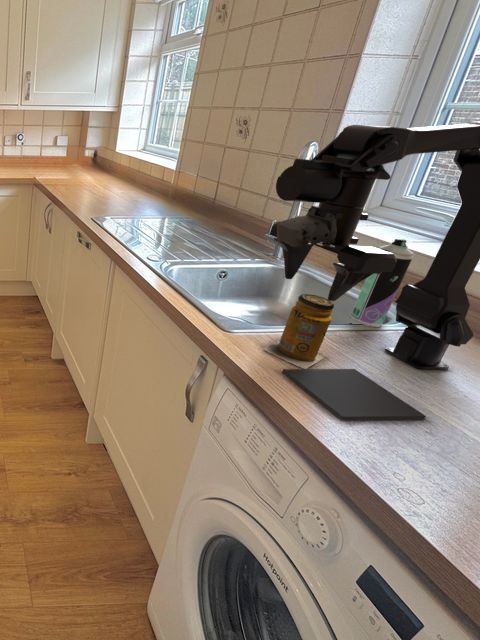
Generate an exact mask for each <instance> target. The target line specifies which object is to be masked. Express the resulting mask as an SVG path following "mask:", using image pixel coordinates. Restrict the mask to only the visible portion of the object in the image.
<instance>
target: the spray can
mask: <svg viewBox="0 0 480 640" xmlns="http://www.w3.org/2000/svg"><path fill="white" fill-rule="evenodd" d="M406 243H407V239H403V238H400V239H398V238H395V239H394V241H392V242H390V243H389V244H386V245H380V246H379V249H381V250H384V251H387V252H390V253H393V254H394V255H395V257H396V259H397V262H396V264H395V267H394V269H393V271H392V272H382V273H381V274H372V275H371V276H369V277H368V278H366V279H364V282H363V285H362V287H361V290H360V292H359V294H358V297H357V299H356V301H355V304H354V306H353V308H352V311H351V313H350V316H349V317H350V319H351V320H352V321H354V322H356V323H358V324H361V325H364V326H367V327H373V328H380V327H382V325H383V324H384V322H385V319H386V317H387V314H388V312H389V310H390V308H391V306H392V304H393V302H394V300H395V297H396V295H397V293H398V291H399V289H400V287H401V284H402V282H403V280H404V277H405V275H406V274H407V271H408V269H409V266H410V265H411V262H412V260H413V258H414V256H413V255H414V254H415V253H414V251H412V250H410V249H409V246H408V245H407V244H406Z"/></svg>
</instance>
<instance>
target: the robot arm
mask: <svg viewBox="0 0 480 640" xmlns="http://www.w3.org/2000/svg"><path fill="white" fill-rule="evenodd" d="M455 151H456V152H455ZM443 152H455V154H454V156H453V158H452V161H453V162H454V163H455V165H456V167H457V168H458V170H459V171H460V173H459V176H458V180H457V182H456V189H457V193H458V195H459V199H460V201H461V202H460V203H461V204H460V205H459V208H458V210H457V212H456V214H455V216H454V218H453V220H452V222H451V225H450V227H449V229H448V230H447V232H446V234H445V236H444V238H443V241H442V243H441V245H440V247H439V249H438V250H437V253H436V254H435V257H434V259H433V261H432V263H431V264H430V267H429V269H428V271H427V273H426V275H425V276H424V278H423V279H421V280H419V281H417V282H415V283H413V284H408V283H407V284H405V285H403V287H402V288H401V291H400V294H399V296H398V297H397V299H396V300H395V301H394V303H395V304H396V306H395V311H396V313H395V314H396V316H395V321H396V322H397V323H400V324H402V325H404V326H406V327H405V328H404V329H403V331H402V334H400V336H399V338H398V340H397V342H396V344H395V347H385V348H384V351H386V352H388V353H389V354H391V355H393V356H395V357H396V358H398V359H400V360H401V361H403V362H405V363H407V364H409V365H410V366H412V367H414V368H416V369H419V370H448V369H449V368H450V366H449V365H447V364H446V363H444V362H443V361H442V359H443V358H444V356H445V354H446V352H447V350H448V348H449V346H454V347H461V345H466V344H467V343H469V342H470V340H472V338H473V337H474V335H475V334H474V332H473V331H472V329H471V327H470V324H469V323H468V321H467V320H466V318H467V315H468V312H469V309H470V305H471V304H470V301H469V297H468V294H467V291H466V286H467V284H468V282H469V280H470V278H471V277H472V275H473V273H474V271H475V269H476V267H477V265H478V263H479V262H480V121H469V122H465V123H459V124H458V123H457V124H445V125H431V126H420V127H409V128H408V127H407V128H404V127H397V126H396V127H395V126H383V125H382V126H381V125H367V124H351V125H348V126H345V127H343V129H342V131H341V132H340V133H338V135H337V136H336V137H335V138H334V139H333V140H331V141H330V142H329V143H328V144H327V145H326V146H325V147H324V148H323V149H322V150H320V151H319V152H318V153H317V154H316V155H314V156H313V158H312V159H306V158H295V159H294V161H293V163H292V165H291V166H288V167H287V168H285V169H284V170H283V171H282V172H281V174H280V175H279V176H277V179H276V183H275V191H276V195H277V196H278V198H279V199H280V200H283V201H284V202H285V201H286V202H300V203H316V204H318V205H311V207H309V208H308V210H307V213H306V214H305V215H301V216H296V217H292V218H288V219H284V220H279V221H277V222H275V223H274V224H272V226H271V229H270V231H269V236H272V237H273V241H274V242H275V243H277V244H278V246H279V247H280V249H282V254H283V265H284V267H283V268H284V278H285V279H286V280H293V278H294V277H295V275H296V274H297V273H298V271H299V269H300V268H301V266H302V265H303V263H304V261H305V260H306V258H307V257H308V255H309V253H310V251H311V250H312V248H313V247H314V246H315V247H318V248H321V249H323V250H326V251H328V252H331V253H334V254H336V258H337V260H338V262H333V263H332V265H333V267H334V269H335V271H336V273H335V276H334V278H333V280H332V283H331V286H330V289H329V291H328V296H327V299H328V300H329V301H332V302H336V301H337V300H338V299H340V298H341V297H343V296H344V295H345V294H347V292H349V291H350V290H351V289H353V288H354V287H355V286H357V285H358V284H360V283H361V282H363V281H365V280H366V278H368V277H369V276H371V275H372V274H381V273H382V272H392V271H393V269H394V267H395V264H396V262H397V259H396V257H395V255H394V254H393V253H390V252H387V251H384V250H381V249H380V248H377V247H374V246H368V245H367V246H365V245H357V244H358V243H359V240H360V238H359V237H355V236H354V235H355V232H356V230H357V227H358V225H359V223H360V221H368V219H369V216H370V214H368V213H364V211H365V208H366V205H367V203H368V201H369V198H370V196H371V193H372V191H373V189H374V186H375V184H376V181H377V180H383V181H385V180H386V181H389V180H391V178H392V176H391V174H390V173H389V172H388V171H387V170H386V169H385V167H384V165H387V164H391V163H395V162H399V161H401V160H404V158H406V157H407V156H411V155H418V154H419V155H420V154H433V153H443Z"/></svg>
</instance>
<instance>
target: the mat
mask: <svg viewBox="0 0 480 640" xmlns="http://www.w3.org/2000/svg"><path fill="white" fill-rule="evenodd" d="M281 373H282V374H283V376H285V377H286V378H287V379H288V380H290V381H291V382H293V383H294V384H295V385H296V386H297V387H298V388H300V389H302V391H303V392H305V393H306V394H308V396H310V397H311V398H312V399H314V400H315V401H316V402H317V403H318V404H320V405H321V406H322V407H323V408H325V409H326V410H327V411H328V412H330V414H332V415H333V416H334V417H335V418H337V419H338V420H339V421H341V422H349V421H351V422H352V421H356V422H357V421H361V422H362V421H424V420H425V419H426V417H427V415H426V414H424V413H423V412H421V411H419V410H418V409H417V408H415V407H413V406H411V404H409V403H407V402H406V401H404V400H403V399H401V398H400V397H398V396H396V395H395V394H394V393H393V392H391V391H389V390H387V389H386V388H385V387H383V386H382V385H379V384H378V383H377V382H375V381H374V380H373V379H371V378H370V377H368V376H367V375H365V374H364V373H362V372H360V371H358V370H357V369H356V368H307V369H303V368H283V369H282V370H281Z"/></svg>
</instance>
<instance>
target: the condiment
mask: <svg viewBox="0 0 480 640" xmlns="http://www.w3.org/2000/svg"><path fill="white" fill-rule="evenodd" d="M334 308H335V303H334V301H329V300H328V298H326V297H324V296H322V295H318V294H312V293H302V294H300V295H299V296H298V299H297V301H296V303H295V305H294V306H292V308H291V310H290V312H289V314H288V318H287V321H286V323H285V326H284V329H283V331H282V334H281V336H280V339H279V340H278V341H275V342H274V343H272V344H270V345H268V346H266V347H264V348H263V351H265V352H268V353H269V354H271V355H274V356H275V357H277V358H279V359H282V360H283V361H285V362H287V363H290V364H293V365H294V366H296V367H299V368H300V369H310V367H311V366H313V365H315V364H317V363H318V362H320V361H321V360H323V359H324V358H325V356H324V355H322V354H319V352H320V349H321V346H322V345H323V341H324V340H325V337H326V334H327V333H328V329H329V327H330V325H331V323H332V316H331V315H332V314H333V309H334Z"/></svg>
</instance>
